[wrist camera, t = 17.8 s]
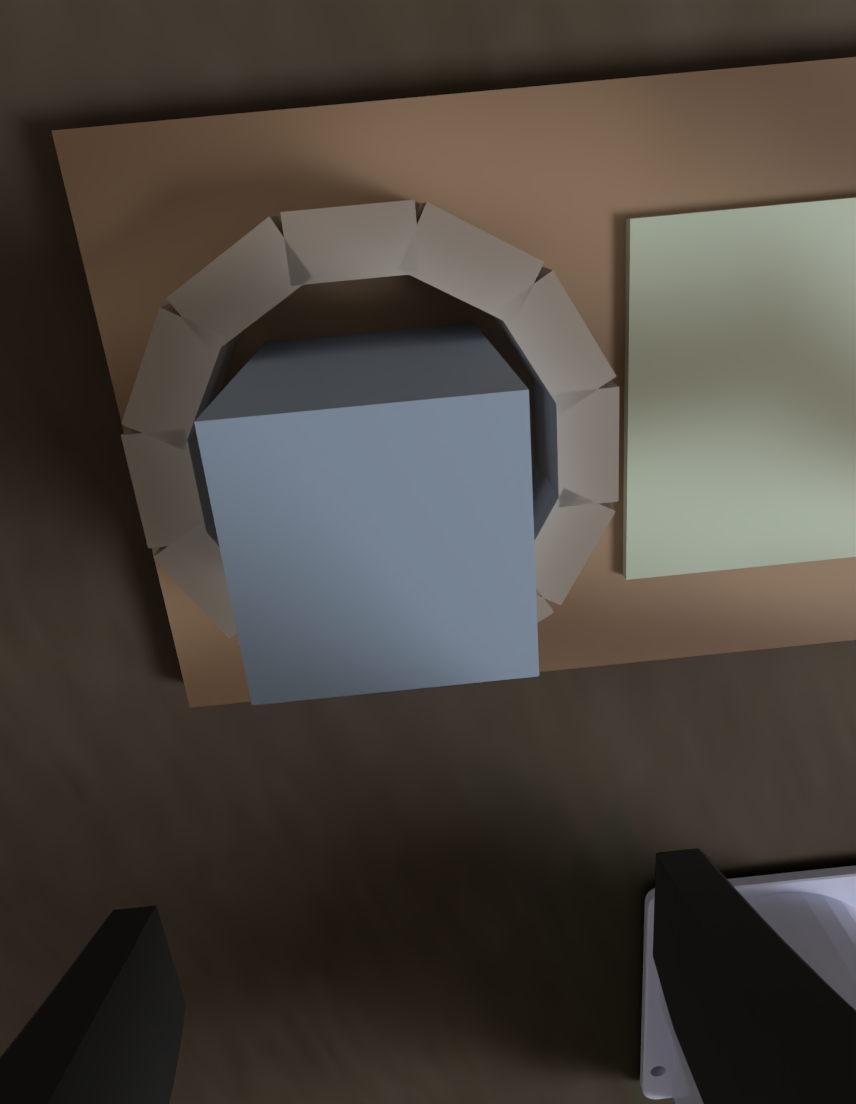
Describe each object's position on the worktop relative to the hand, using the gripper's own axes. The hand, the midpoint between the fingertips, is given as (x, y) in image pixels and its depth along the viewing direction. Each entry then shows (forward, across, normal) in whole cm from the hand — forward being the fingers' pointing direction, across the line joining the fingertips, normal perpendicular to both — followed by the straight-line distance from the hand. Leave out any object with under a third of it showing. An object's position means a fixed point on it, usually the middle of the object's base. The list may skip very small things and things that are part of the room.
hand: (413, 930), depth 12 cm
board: (+10, -4, -5) cm, 12 cm away
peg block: (+9, 0, -5) cm, 10 cm away
